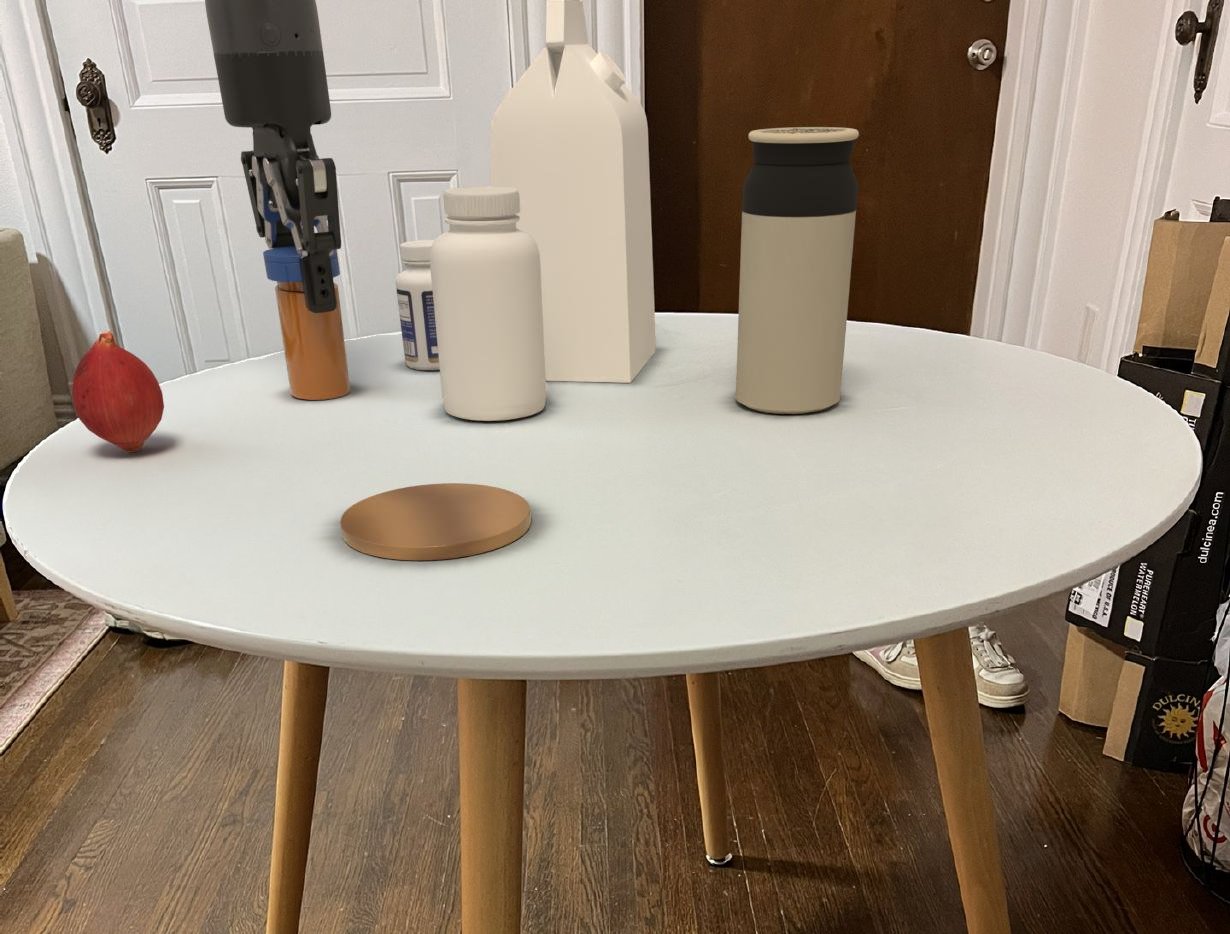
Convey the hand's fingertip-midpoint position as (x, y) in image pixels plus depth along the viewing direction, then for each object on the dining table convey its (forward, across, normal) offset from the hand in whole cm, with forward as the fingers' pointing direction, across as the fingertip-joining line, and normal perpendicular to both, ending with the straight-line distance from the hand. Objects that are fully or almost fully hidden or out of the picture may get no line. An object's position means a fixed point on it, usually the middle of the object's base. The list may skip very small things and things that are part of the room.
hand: (308, 304), depth 90 cm
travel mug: (+7, -25, -28) cm, 38 cm away
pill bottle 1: (+7, +4, -12) cm, 15 cm away
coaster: (+7, -34, +6) cm, 35 cm away
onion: (+7, -7, +17) cm, 20 cm away
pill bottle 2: (+7, -13, -9) cm, 17 cm away
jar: (+7, +1, 0) cm, 7 cm away
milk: (+7, -4, -22) cm, 24 cm away
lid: (-3, 0, 0) cm, 3 cm away
